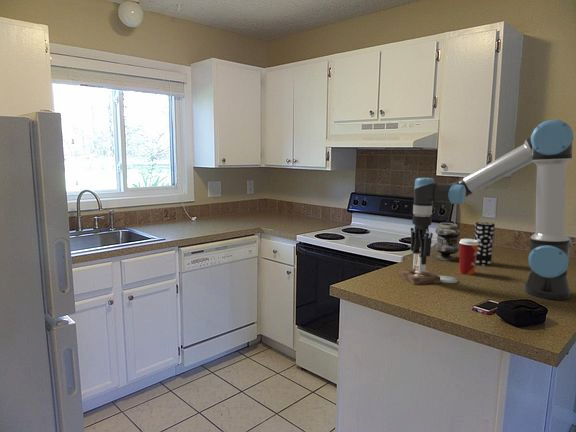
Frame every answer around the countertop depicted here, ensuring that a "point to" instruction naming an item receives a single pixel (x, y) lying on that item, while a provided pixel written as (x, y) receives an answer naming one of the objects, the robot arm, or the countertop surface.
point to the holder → (419, 277)
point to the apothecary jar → (447, 241)
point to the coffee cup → (468, 256)
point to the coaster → (448, 279)
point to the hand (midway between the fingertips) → (418, 269)
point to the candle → (418, 268)
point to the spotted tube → (484, 242)
